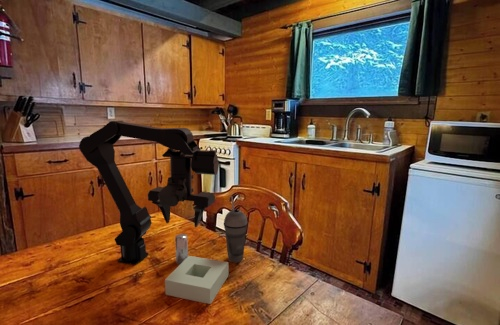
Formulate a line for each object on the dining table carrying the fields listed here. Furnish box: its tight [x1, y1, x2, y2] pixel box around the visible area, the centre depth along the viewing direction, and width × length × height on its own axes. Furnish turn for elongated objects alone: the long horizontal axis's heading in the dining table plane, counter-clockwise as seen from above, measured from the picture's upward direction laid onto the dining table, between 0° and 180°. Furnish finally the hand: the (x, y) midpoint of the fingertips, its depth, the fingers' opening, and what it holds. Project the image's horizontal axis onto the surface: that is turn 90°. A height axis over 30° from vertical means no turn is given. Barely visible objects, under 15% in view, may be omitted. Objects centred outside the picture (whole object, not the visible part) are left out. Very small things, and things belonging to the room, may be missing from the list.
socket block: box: [164, 255, 229, 305], centre depth 71 cm, size 12×12×4 cm
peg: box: [174, 233, 189, 265], centre depth 82 cm, size 4×4×8 cm
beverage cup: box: [223, 195, 249, 263], centre depth 83 cm, size 7×7×20 cm
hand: (181, 224), depth 80 cm, fingers open, 9 cm apart
